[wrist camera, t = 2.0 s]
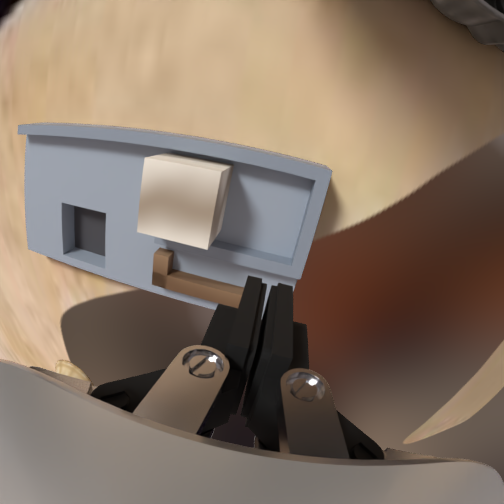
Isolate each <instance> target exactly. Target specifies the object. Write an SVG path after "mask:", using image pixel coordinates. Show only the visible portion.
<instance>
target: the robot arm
mask: <svg viewBox="0 0 504 504" xmlns="http://www.w3.org/2000/svg"><path fill="white" fill-rule="evenodd" d="M266 289H267V284H266V283H262V278H258V277H254V276H250V275H248V277H247V280H246V284H245V287H244V290H243V294H242V297H241V300H240V303H239V307H238V308H235V307H231V306H227V305H223V304H218V305H217V308H216V310H215V313H214V315H213V317H212V320H211V322H210V324H209V327H208V329H207V332H206V334H205V336H204V339H203V341H202V344H201V345H195V346H190V347H187V348H185V349H183V350H182V351H181V352H180V353H179V354H178V355H177V357H176V358H175V359H174V360H173V361H172V363H171V364H170V365H169V367H168V368H166V369H162V370H158V371H155V372H151V373H147V374H143V375H139V376H135V377H130V378H126V379H122V380H118V381H113V382H109V383H105V384H103V385H100V386H98V387H95V386H92V384H91V382H89V381H85V380H81V379H77V378H74V377H70V376H66V375H63V374H59V373H56V372H52V371H49V370H46V369H43V368H40V367H33V366H32V367H27V366H24V365H21V364H18V363H15V362H13V361H8V360H3V359H0V504H504V483H503V481H502V479H501V477H500V475H499V474H498V472H496V470H494V468H492V467H490V466H488V465H486V464H484V463H480V462H477V461H473V460H467V459H459V458H436V457H434V456H428V455H422V454H416V453H410V452H405V451H400V450H395V449H390V448H387V449H386V450H385V451H383V450H382V449H381V448H380V447H379V446H378V445H377V443H375V442H374V441H373V440H372V439H371V438H369V437H368V436H367V435H366V434H364V433H363V432H362V431H361V430H360V429H358V428H357V427H356V426H355V425H354V424H352V423H351V422H350V421H349V420H347V419H346V418H345V417H344V416H343V415H341V414H340V413H339V412H338V411H337V410H336V407H335V404H334V400H333V397H332V393H331V390H330V387H329V385H328V383H327V381H326V380H325V379H324V378H323V377H322V376H321V375H319V374H318V373H316V372H314V371H311V370H309V358H308V338H307V325H306V324H302V323H298V322H293V286H290V285H286V284H282V283H278V284H277V286H274V285H272V286H271V289H270V292H269V296H268V299H267V303H266V306H265V310H264V313H263V307H264V301H265V295H266ZM262 313H263V317H262ZM261 319H262V320H261ZM247 379H248V380H247ZM246 382H247V386H246V391H245V396H244V401H243V407H242V411H241V416H242V417H247V418H246V423H245V426H246V427H249V428H250V430H251V431H252V432H253V433H254V434H255V435H256V436H255V440H254V448H250V447H245V446H241V445H236V444H231V443H227V442H223V441H218V440H214V439H211V436H212V434H213V432H214V428H216V427H218V426H220V425H223V424H225V423H227V422H228V420H229V416H230V414H233V415H236V413H237V410H238V407H239V403H240V400H241V397H242V394H243V391H244V388H245V385H246Z"/></svg>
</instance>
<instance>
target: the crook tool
mask: <svg viewBox="0 0 504 504" xmlns="http://www.w3.org/2000/svg"><path fill="white" fill-rule="evenodd" d="M173 257H174V251H172V250H168V249H164V248H161V247H160V248H159V249H158V250H157V251H156V252H155V253H154V257H153V272H152V285H154V286H158V287H161V288H165V289H168V290H172V291H175V292H179V293H182V294H186V295H189V296H193V297H197V298H200V299H204V300H208V301H211V302H215V303H219V304H223V305H227V306H231V307H235V308H238V307H239V303H240V300H241V297H242V294H243V290H244V287H240V286H237V285H233V284H229V283H225V282H221V281H217V280H213V279H209V278H205V277H202V276H198V275H194V274H190V273H186V272H183V271H179V270H175V269H172V267H173Z"/></svg>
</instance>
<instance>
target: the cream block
mask: <svg viewBox="0 0 504 504" xmlns="http://www.w3.org/2000/svg"><path fill="white" fill-rule="evenodd" d="M233 167H234V165H233V164H228V163H223V162H218V161H213V160H208V159H203V158H197V157H192V156H186V155H180V154H175V153H165V154H160V155H155V156H150V157H145V158H144V166H143V174H142V182H141V191H140V201H139V213H138V225H137V232H139V233H143V234H147V235H151V236H155V237H159V238H163V239H167V240H170V241H174V242H178V243H182V244H186V245H190V246H194V247H198V248H202V249H206V250H208V248H209V247H210V245H211V244H212V242H213V241H214V239H215V238H216V237H217V235H218V234H219V232H220V231H221V228H222V223H223V218H224V212H225V207H226V202H227V197H228V192H229V187H230V182H231V177H232V172H233Z"/></svg>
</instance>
